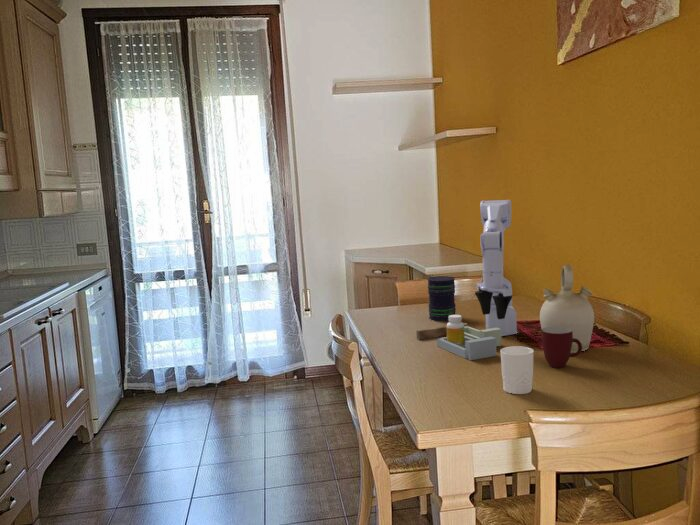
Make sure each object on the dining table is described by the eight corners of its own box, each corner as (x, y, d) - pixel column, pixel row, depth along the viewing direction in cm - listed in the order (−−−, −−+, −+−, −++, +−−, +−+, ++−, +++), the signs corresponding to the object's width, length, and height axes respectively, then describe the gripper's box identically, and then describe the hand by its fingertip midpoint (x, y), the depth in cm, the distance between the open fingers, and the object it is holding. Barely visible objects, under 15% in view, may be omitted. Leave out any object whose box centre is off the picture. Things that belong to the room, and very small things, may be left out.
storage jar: (460, 316, 244) (459, 276, 242) (449, 322, 236) (448, 281, 234) (435, 314, 249) (434, 275, 247) (424, 320, 241) (422, 279, 239)
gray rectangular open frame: (461, 341, 208) (461, 325, 208) (496, 355, 191) (496, 338, 191) (437, 346, 205) (436, 329, 204) (470, 360, 188) (469, 342, 187)
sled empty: (468, 333, 219) (467, 317, 218) (501, 345, 202) (501, 329, 201) (451, 335, 216) (451, 320, 216) (484, 348, 199) (484, 331, 199)
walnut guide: (465, 331, 222) (465, 322, 222) (503, 345, 202) (503, 336, 202) (416, 338, 215) (416, 330, 215) (451, 354, 195) (451, 345, 195)
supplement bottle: (464, 349, 200) (463, 317, 199) (446, 349, 201) (445, 317, 200) (465, 344, 205) (464, 314, 204) (447, 344, 206) (446, 314, 205)
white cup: (496, 386, 165) (496, 347, 164) (527, 383, 166) (527, 345, 164) (507, 396, 157) (506, 355, 156) (539, 394, 158) (538, 353, 157)
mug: (575, 360, 183) (575, 325, 182) (586, 368, 175) (586, 332, 174) (537, 362, 183) (537, 327, 182) (547, 371, 175) (546, 334, 174)
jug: (596, 343, 200) (596, 261, 196) (591, 356, 186) (591, 269, 182) (544, 339, 206) (543, 260, 203) (536, 353, 192) (535, 268, 189)
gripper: (467, 270, 201) (468, 313, 203) (495, 276, 188) (496, 322, 190) (487, 267, 204) (488, 310, 206) (516, 273, 190) (516, 319, 192)
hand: (493, 316), depth 198 cm, fingers open, 7 cm apart
